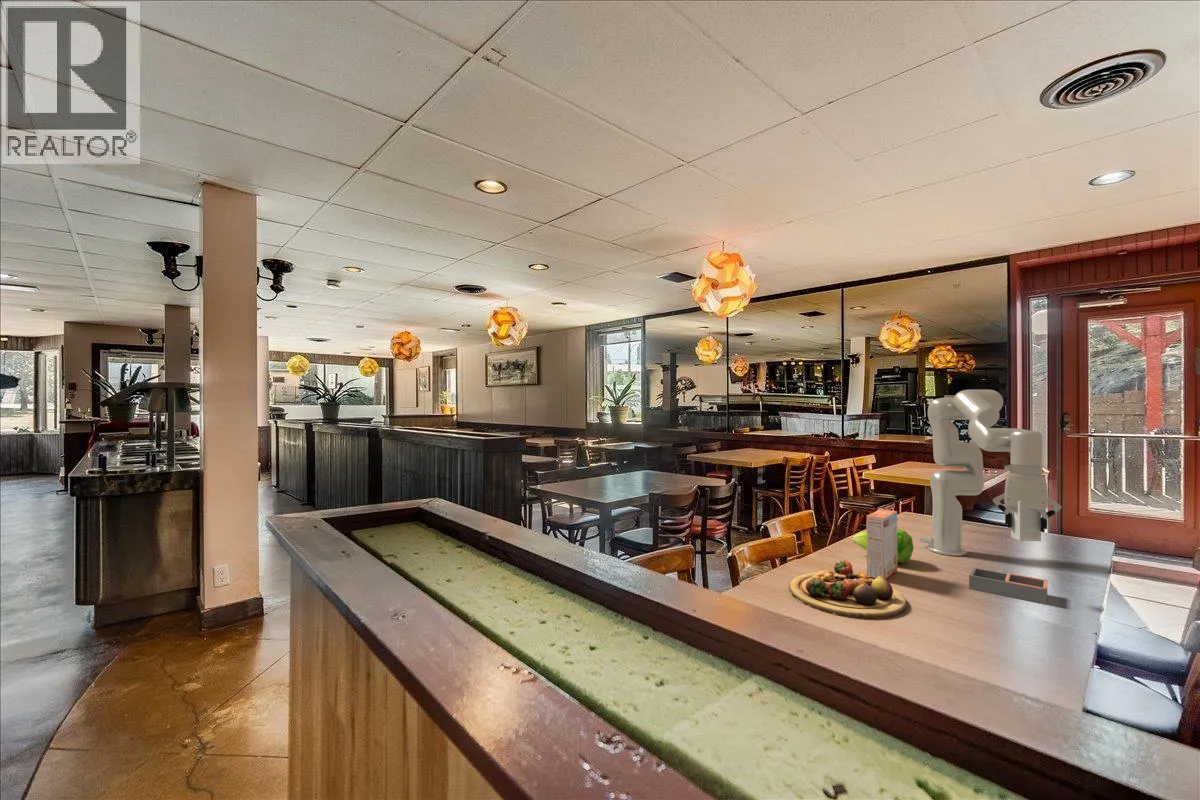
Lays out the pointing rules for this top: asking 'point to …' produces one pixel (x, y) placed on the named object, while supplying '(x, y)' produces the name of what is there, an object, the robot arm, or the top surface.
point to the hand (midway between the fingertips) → (1025, 528)
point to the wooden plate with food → (848, 593)
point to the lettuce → (903, 544)
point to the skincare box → (1025, 524)
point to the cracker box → (881, 543)
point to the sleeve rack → (1009, 585)
